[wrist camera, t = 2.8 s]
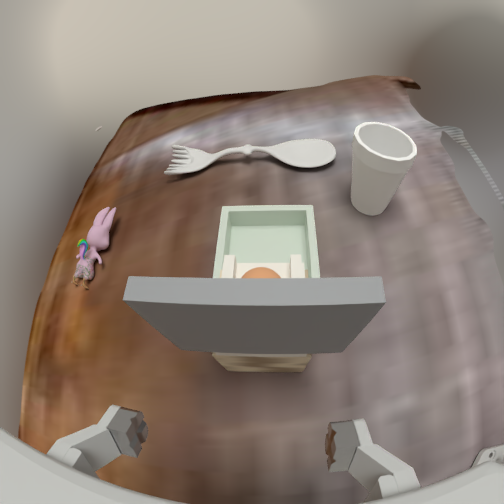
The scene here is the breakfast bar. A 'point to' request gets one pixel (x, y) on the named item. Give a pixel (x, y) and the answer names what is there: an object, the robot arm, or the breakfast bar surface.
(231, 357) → the stand
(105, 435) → the robot arm
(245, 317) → the lever flap
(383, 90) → the breakfast bar surface
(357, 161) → the foam cup
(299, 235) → the tray
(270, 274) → the ball
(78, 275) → the rabbit figure
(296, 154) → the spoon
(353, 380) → the breakfast bar surface
